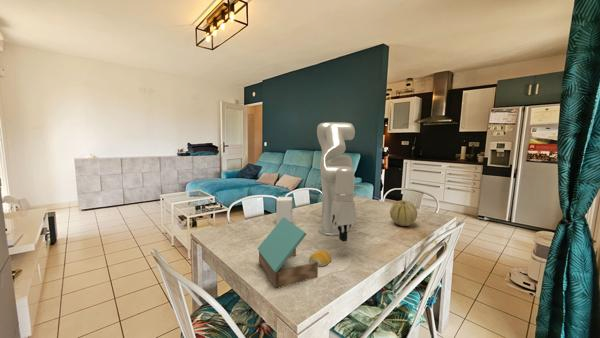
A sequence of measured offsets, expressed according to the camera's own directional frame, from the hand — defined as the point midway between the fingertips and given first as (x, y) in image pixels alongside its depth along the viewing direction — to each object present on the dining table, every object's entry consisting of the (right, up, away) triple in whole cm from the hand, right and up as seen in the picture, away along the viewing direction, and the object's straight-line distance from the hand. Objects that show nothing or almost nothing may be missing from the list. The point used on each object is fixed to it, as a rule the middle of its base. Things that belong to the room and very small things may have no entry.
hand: (343, 240), depth 103 cm
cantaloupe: (+42, -3, +40) cm, 58 cm away
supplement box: (-27, -2, +41) cm, 50 cm away
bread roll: (-10, -8, -3) cm, 13 cm away
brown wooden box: (-23, -8, -10) cm, 27 cm away
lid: (-25, +3, -12) cm, 28 cm away
